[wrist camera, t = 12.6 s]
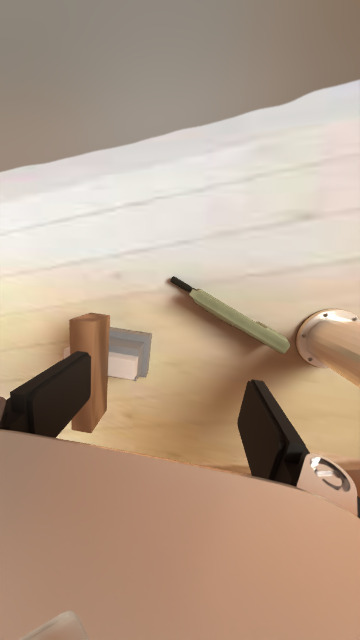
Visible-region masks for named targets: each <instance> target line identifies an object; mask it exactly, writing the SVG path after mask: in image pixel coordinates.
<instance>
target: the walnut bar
mask: <svg viewBox="0 0 360 640" xmlns="http://www.w3.org/2000/svg"><path fill="white" fill-rule="evenodd" d="M109 329H110V316H109V315H103V314H96V313H89V314H86V315H83V316H80V317H77V318H74V319H71V320H70V355H71V354H73V353H75V352H76V351H82V352H88V353H89V355H90V356H91V395H90V398H89V400H88V401H87V402H86V404H85V405H84V406H83V407H82V408H81V409H80V411H79V412H78V413H77V414H76V415H75V416H74V417H73V419H72V430H76V431H81V432H87V433H92V431H93V430H94V428H95V427H96V425H97V424H98V422H99V421H100V419H101V418H102V416H103V415H104V413H105V412H106V409H107V382H108V355H109Z"/></svg>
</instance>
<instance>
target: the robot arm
mask: <svg viewBox="0 0 360 640" xmlns="http://www.w3.org/2000/svg"><path fill="white" fill-rule="evenodd" d="M296 346H297V349H298V352H299V354H300V355H301V357H302V358H303V359H304V360H306V361H307V362H308V363H310V364H312V365H314V366H317V367H321V368H331V369H332V370H334V371H335V372H337V373H338V374H340V375H341V376H343V377H344V378H346V379H347V380H349V381H350V382H352V383H353V384H355V385H356V386H358V387H359V388H360V319H359V317H358V316H356V315H355V314H353V313H351V312H349V311H346V310H342V309H326V310H322V311H320V312H317V313H315V314H314V315H312V316H310V317H309V318H308V319H307V320H306V321H305V322H304V323H303V324H302V326H301V327H300V329H299V331H298V334H297V338H296ZM90 395H91V356H90V355H89V353H88V352H82V351H76V352H75V353H73V354H71V355H70V356H68V357H66V358H65V359H63V360H62V361H60V362H58V363H57V364H55V365H53V366H52V367H50V368H49V369H47V370H45V371H44V372H42V373H40V374H39V375H37V376H36V377H34V378H32V379H31V380H29V381H28V382H26V383H24V384H23V385H21V386H19V387H18V388H16V389H15V390H13V391H11V392H10V398H9V399H7V400H6V399H5V398H3V397H0V640H360V498H359V497H358V496H357V490H356V486H355V484H354V482H353V480H352V479H351V478H350V477H349V475H348V474H347V473H346V472H345V471H344V470H343V469H342V468H341V467H340V466H339V465H337V464H336V463H335V462H333V461H332V460H330V459H328V458H326V457H325V456H322V455H319V454H315V453H310V452H309V451H308V449H307V448H306V445H305V444H304V442H303V441H302V439H301V438H300V436H299V435H298V433H297V431H296V430H295V428H294V427H293V425H292V424H291V422H290V421H289V419H288V418H287V416H286V415H285V413H284V412H283V410H282V409H281V407H280V406H279V404H278V403H277V401H276V400H275V398H274V397H273V395H272V394H271V392H270V391H269V389H268V388H267V386H266V385H265V383H264V382H263V381H260V380H254V379H252V380H251V382H250V381H248V383H247V386H246V390H245V394H244V398H243V402H242V405H241V409H240V413H239V417H238V429H239V432H240V436H241V439H242V443H243V446H244V450H245V453H246V457H247V460H248V464H249V467H250V470H251V474H252V476H250V475H245V474H240V473H236V472H231V471H226V470H221V469H216V468H211V467H206V466H201V465H196V464H191V463H185V462H180V461H175V460H170V459H165V458H160V457H155V456H149V455H144V454H139V453H134V452H128V451H123V450H118V449H112V448H107V447H102V446H96V445H91V444H85V443H80V442H74V441H69V440H63V439H58V438H56V437H57V436H58V435H59V433H60V432H61V431H62V430H63V429H64V428H65V427H66V425H67V424H68V423H69V422H70V421H71V420H72V419H73V417H74V416H75V415H76V414H77V413H78V412H79V411H80V409H81V408H82V407H83V406H84V405H85V404H86V402H87V401H88V400H89V398H90Z"/></svg>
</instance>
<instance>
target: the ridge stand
mask: <svg viewBox="0 0 360 640" xmlns="http://www.w3.org/2000/svg"><path fill="white" fill-rule="evenodd" d="M151 337H152V334H151V333H144V332H138V331H131V330H125V329H118V328H112V327H110V329H109V355H108V376H110V377H116V378H122V379H128V380H134V381H137V379H138V377H139V376H140V377H146V376H147V374H148V367H149V357H150V347H151ZM68 356H70V346H69V347H67V348H65V349H63V358H64V359H65V358H66V357H68Z"/></svg>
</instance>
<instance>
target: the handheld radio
mask: <svg viewBox="0 0 360 640" xmlns="http://www.w3.org/2000/svg"><path fill="white" fill-rule="evenodd" d="M171 282H172V283H173V284H175V285H177V286H179V287H180V288H182V289H184V290H185V291H188V292H189V293H190V294H189V295H190V296H191V297H193V300H194V302H195V303H196V304H197V305H199V306H201V307H202V308H204V309H206V311H207V312H209V313H211V314H212V315H214V316H216V317H217V318H219V319H221V320H222V321H224V322H226V323H228V324H229V325H233V326H234V327H236V328H238V329H240V330H242V331H243V332H245V333H247V334H249V335H250V336H252V337H254V338H255V339H257V340H259V341H261V342H262V343H264V344H266V345H267V346H269V347H271V348H273V349H274V350H276V351H278V352H279V353H286V352H287V350H288V349H289V347H290V343H289V342H288V339H287V338H286V337H284V336H282V335H281V334H279V333H277V332H276V331H274V330H272V329H271V328H269V327H267V326H265V325H264V324H262V323H260V322H254V321H253V320H251V319H249V318H248V317H246V316H244V315H243V314H241V313H239V312H238V311H236V310H234V309H233V308H231V307H229V306H228V305H226V304H224V303H223V302H221V301H219V300H218V299H216V298H214V297H213V296H211V295H209V294H208V293H206V292H204V291H202V290H201V289H197V290H196V289H194V288H192V287H190V286H189V285H188V284H186V283H184V282H183V281H181V280H179V279H178V278H176V277H174V276H173V277H172V278H171Z"/></svg>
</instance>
